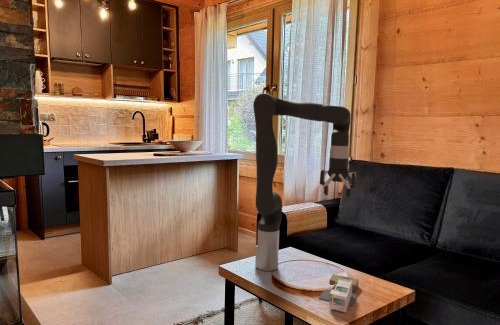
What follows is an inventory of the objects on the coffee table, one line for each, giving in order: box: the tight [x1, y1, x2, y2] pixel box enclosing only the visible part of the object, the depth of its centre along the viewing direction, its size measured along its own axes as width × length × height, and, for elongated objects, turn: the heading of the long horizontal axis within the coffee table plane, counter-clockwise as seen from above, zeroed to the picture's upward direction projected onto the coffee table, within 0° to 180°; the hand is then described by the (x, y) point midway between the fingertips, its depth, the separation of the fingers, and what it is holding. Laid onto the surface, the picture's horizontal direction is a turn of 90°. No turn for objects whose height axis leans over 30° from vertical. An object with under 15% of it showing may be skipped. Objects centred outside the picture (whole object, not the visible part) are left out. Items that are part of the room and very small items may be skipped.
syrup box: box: [328, 278, 352, 313], centre depth 130 cm, size 6×6×14 cm
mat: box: [318, 289, 359, 307], centre depth 136 cm, size 12×11×1 cm
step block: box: [329, 273, 360, 293], centre depth 144 cm, size 10×6×3 cm, turn 64°
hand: (337, 196), depth 150 cm, fingers open, 8 cm apart
